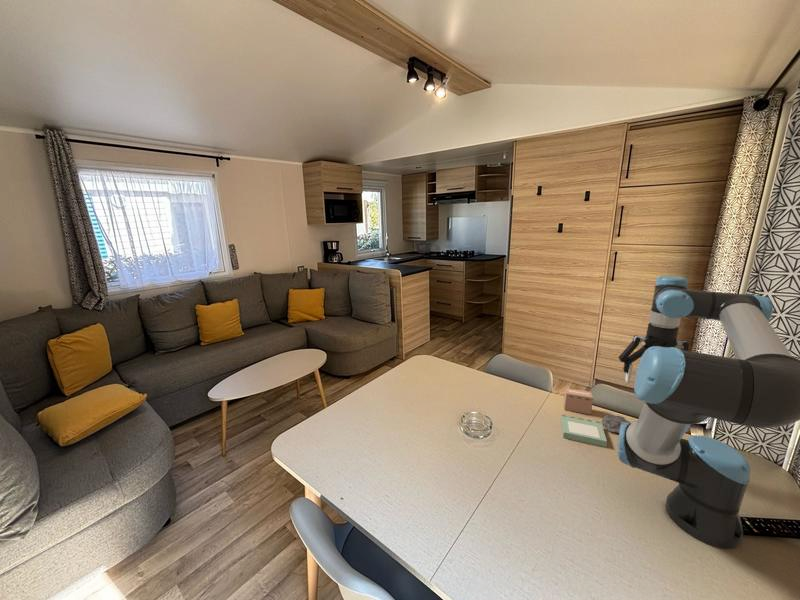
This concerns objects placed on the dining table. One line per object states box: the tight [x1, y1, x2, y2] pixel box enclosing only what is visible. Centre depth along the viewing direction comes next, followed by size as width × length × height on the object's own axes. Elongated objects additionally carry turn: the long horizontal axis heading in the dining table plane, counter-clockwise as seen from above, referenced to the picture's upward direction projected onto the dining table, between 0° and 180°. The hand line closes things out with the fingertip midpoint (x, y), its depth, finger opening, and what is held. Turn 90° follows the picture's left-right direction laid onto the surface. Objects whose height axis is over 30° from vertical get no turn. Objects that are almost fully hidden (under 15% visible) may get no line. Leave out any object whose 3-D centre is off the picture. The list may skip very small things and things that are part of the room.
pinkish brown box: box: [563, 387, 594, 415], centre depth 136 cm, size 5×10×8 cm, turn 67°
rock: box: [601, 413, 631, 434], centre depth 124 cm, size 9×11×4 cm
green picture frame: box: [560, 414, 608, 448], centre depth 121 cm, size 12×14×3 cm
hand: (651, 384), depth 104 cm, fingers open, 13 cm apart
